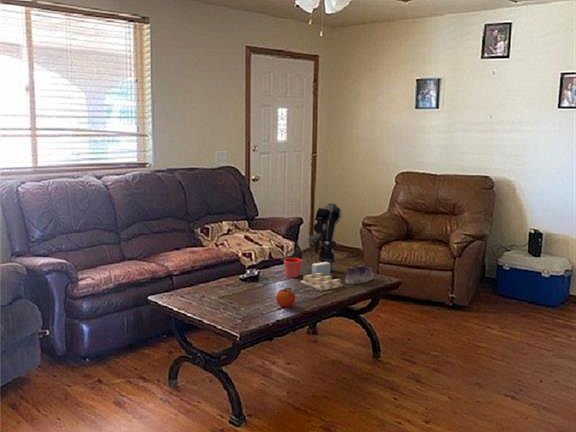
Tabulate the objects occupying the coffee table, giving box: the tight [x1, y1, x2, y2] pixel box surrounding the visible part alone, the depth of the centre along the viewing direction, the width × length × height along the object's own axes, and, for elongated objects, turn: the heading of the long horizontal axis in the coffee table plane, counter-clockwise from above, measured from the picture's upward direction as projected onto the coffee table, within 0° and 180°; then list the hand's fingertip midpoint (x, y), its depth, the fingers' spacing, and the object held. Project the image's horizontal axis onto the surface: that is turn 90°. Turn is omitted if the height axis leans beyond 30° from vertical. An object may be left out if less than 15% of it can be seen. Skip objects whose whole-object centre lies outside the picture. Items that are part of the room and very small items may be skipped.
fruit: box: [275, 287, 296, 308], centre depth 295 cm, size 10×10×10 cm
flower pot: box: [283, 257, 303, 278], centre depth 349 cm, size 11×11×10 cm
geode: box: [344, 265, 374, 286], centre depth 344 cm, size 20×12×10 cm, turn 140°
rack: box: [300, 273, 344, 292], centre depth 335 cm, size 16×18×4 cm
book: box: [311, 261, 331, 277], centre depth 350 cm, size 11×4×8 cm, turn 127°
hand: (321, 255), depth 349 cm, fingers open, 9 cm apart
